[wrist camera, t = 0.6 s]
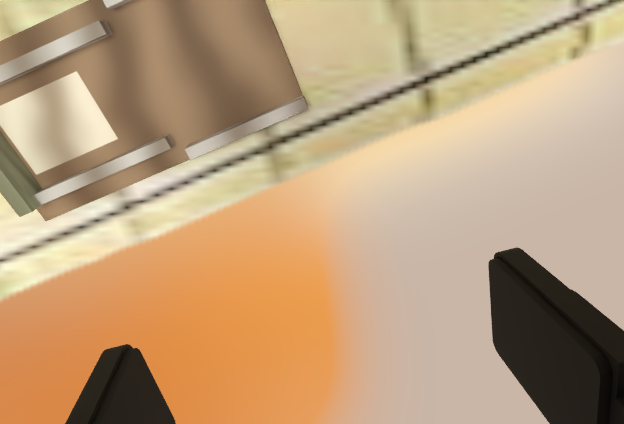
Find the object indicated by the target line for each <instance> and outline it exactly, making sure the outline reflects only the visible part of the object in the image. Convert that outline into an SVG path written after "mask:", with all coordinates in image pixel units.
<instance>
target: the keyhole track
mask: <svg viewBox="0 0 624 424" xmlns="http://www.w3.org/2000/svg"><path fill="white" fill-rule="evenodd" d="M307 109H308V107H307V104H306V102H305V99H304V97H303V95H302V93H301V90H300V88H299V85H298V83H297V80H296V78H295V75H294V73H293V71H292V68H291V66H290V63H289V61H288V58H287V56H286V53H285V51H284V48H283V46H282V43H281V41H280V38H279V36H278V33H277V31H276V28H275V26H274V23H273V21H272V18H271V16H270V13H269V11H268V8H267V6H266V3H265V1H264V0H89V1H86V2H84V3H82V4H80V5H78V6H76V7H73V8H71V9H69V10H67V11H65V12H63V13H60V14H58V15H56V16H54V17H52V18H50V19H47V20H45V21H43V22H41V23H39V24H37V25H35V26H32V27H30V28H28V29H26V30H24V31H22V32H19V33H17V34H15V35H13V36H11V37H9V38H6V39H4V40H2V41H0V193H1V194H2V195H3V196H4V198H5V199H6V200H7V202H8V203H9V204H10V205H11V207H12V208H13V209H14V210H15V212H16V213H17V214H18V216H19V217H21V216H23V215H25V214H28V213H30V212H32V211H34V210H35V209H37V210H38V212H39V213H40V214H41V215H42V217H43V218H44V219H45V221H47V220H50V219H52V218H54V217H57V216H59V215H61V214H64V213H66V212H68V211H71V210H73V209H75V208H78V207H80V206H82V205H84V204H87V203H89V202H91V201H94V200H96V199H98V198H101V197H103V196H105V195H108V194H110V193H112V192H115V191H117V190H119V189H122V188H124V187H126V186H129V185H131V184H133V183H136V182H138V181H140V180H143V179H145V178H147V177H150V176H152V175H154V174H157V173H159V172H161V171H163V170H166V169H168V168H170V167H173V166H175V165H177V164H180V163H182V162H184V161H187V160H189V159H190V160H191V159H193V158H196V157H198V156H200V155H203V154H205V153H207V152H210V151H212V150H214V149H217V148H219V147H221V146H224V145H226V144H228V143H231V142H233V141H235V140H238V139H240V138H242V137H245V136H247V135H249V134H251V133H254V132H256V131H258V130H261V129H263V128H265V127H268V126H270V125H272V124H275V123H277V122H279V121H282V120H284V119H286V118H289V117H291V116H293V115H296V114H298V113H300V112H303V111H305V110H307Z"/></svg>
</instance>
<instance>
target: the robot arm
mask: <svg viewBox="0 0 624 424" xmlns="http://www.w3.org/2000/svg"><path fill="white" fill-rule="evenodd" d="M489 281H490V297H491V317H492V334H493V343H494V346H495V349H496V351H497V352H498V354H499V356H500V357H501V358H502V360H503V361H504V362H505V364H506V365H507V366H508V368H509V369H510V370H511V372H512V373H513V374H514V376H515V377H516V379H517V380H518V381H519V383H520V384H521V385H522V386H523V388H524V389H525V391H526V392H527V393H528V395H529V396H530V398H531V399H532V400H533V402H534V403H535V404H536V406H537V407H538V408H539V410H540V411H541V412H542V414H543V415H544V417H545V418H546V419H547V421H548V422H549V423H550V424H624V331H623V330H622V329H621V328H619V327H618V326H617V325H616V324H615V323H613V322H612V321H611V320H610V319H609V318H607V317H606V316H605V315H604V314H602V313H601V312H600V311H599V310H597V309H596V308H595V307H594V306H593V305H591V304H590V303H589V302H588V301H586V300H585V299H584V298H583V297H582V296H580V295H579V294H578V293H576V292H574V291H573V290H570V289H569V288H568V287H567V286H565V285H564V284H563V283H562V282H561V281H559V280H558V279H557V278H556V277H555V276H553V275H552V274H551V273H550V272H548V271H547V270H546V269H545V268H544V267H542V266H541V265H540V264H539V263H537V262H536V261H535V260H534V259H533V258H531V257H530V256H529V255H528V254H527V253H525V252H524V251H523V250H521V249H520V248H513V249H509V250H505V251H501V252H498V253H496V254H495V255H494V259H492V260H490V261H489ZM65 424H175V420H174V417H173V415H172V413H171V411H170V410H169V407H168V406H167V403H166V401H165V399H164V398H163V396H162V394H161V392H160V390H159V388H158V386H157V384H156V382H155V380H154V378H153V376H152V374H151V372H150V370H149V368H148V366H147V364H146V362H145V360H144V358H143V356H142V354H141V352H140V350H139V349H137V348H134V349H133V348H132V347H131V346H130V345H128V344H126V345H122V346H118V347H114V348H110V349H106V350H104V351H103V353H102V354H101V356H100V358H99V360H98V362H97V364H96V366H95V368H94V370H93V372H92V373H91V376H90V377H89V379H88V381H87V383H86V385H85V387H84V389H83V391H82V393H81V395H80V396H79V399H78V400H77V402H76V404H75V406H74V408H73V410H72V412H71V414H70V416H69V418H68V420H67V422H66V423H65Z"/></svg>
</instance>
